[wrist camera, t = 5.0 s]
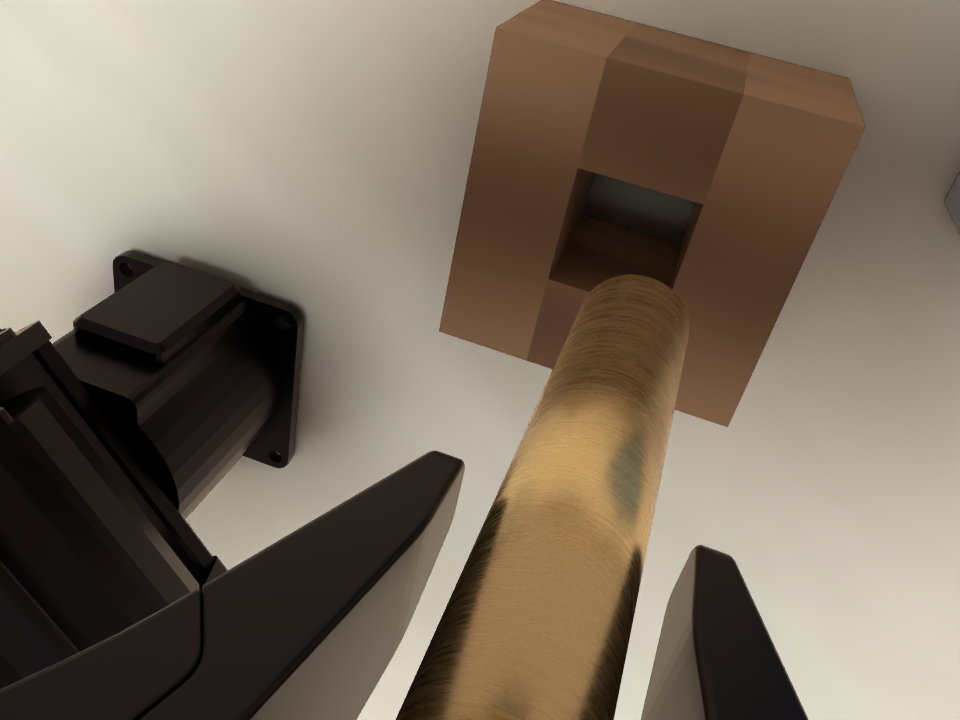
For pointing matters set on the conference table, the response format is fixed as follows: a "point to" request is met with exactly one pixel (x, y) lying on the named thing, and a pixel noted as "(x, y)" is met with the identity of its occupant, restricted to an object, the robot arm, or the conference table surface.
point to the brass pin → (566, 527)
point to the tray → (954, 202)
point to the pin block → (651, 164)
